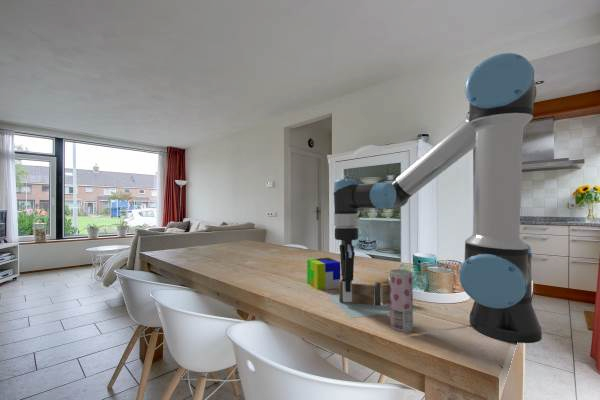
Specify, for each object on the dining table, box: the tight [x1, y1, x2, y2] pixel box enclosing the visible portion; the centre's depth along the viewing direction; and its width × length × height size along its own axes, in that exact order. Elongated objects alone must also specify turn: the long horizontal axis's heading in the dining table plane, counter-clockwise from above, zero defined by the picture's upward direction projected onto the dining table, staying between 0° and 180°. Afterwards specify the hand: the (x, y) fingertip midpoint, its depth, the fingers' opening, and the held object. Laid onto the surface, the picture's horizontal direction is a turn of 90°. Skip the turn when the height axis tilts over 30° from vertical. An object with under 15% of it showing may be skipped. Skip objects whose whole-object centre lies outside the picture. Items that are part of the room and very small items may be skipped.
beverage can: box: [389, 268, 414, 333], centre depth 74 cm, size 6×6×15 cm
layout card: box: [327, 293, 418, 319], centre depth 92 cm, size 20×22×1 cm
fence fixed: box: [380, 282, 390, 304], centre depth 91 cm, size 8×2×7 cm, turn 105°
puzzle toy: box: [306, 257, 341, 291], centre depth 113 cm, size 10×10×10 cm
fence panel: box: [338, 280, 381, 306], centre depth 91 cm, size 13×2×7 cm, turn 78°
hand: (347, 301), depth 89 cm, fingers closed
